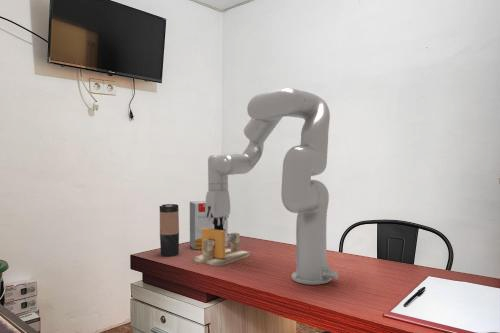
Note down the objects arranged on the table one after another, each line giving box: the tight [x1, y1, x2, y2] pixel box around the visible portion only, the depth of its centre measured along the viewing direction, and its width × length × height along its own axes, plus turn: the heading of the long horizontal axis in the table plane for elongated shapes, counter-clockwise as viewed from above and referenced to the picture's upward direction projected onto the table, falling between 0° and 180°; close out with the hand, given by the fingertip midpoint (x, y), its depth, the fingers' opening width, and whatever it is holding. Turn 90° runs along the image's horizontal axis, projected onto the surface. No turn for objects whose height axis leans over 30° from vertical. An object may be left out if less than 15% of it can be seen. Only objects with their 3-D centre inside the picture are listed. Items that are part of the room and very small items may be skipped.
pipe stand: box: [193, 232, 251, 267], centre depth 150 cm, size 13×18×8 cm
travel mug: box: [159, 203, 180, 257], centre depth 157 cm, size 8×8×20 cm
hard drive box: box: [189, 200, 229, 250], centre depth 170 cm, size 16×8×20 cm, turn 113°
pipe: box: [213, 234, 236, 246], centre depth 150 cm, size 3×17×3 cm, turn 144°
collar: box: [201, 228, 226, 259], centre depth 146 cm, size 10×2×10 cm, turn 53°
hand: (218, 235), depth 148 cm, fingers closed
